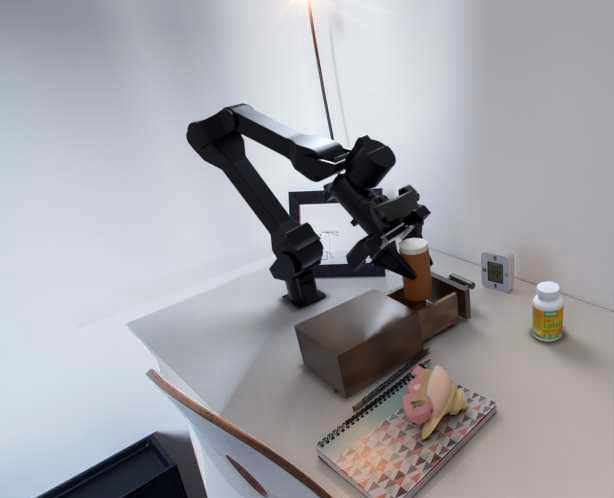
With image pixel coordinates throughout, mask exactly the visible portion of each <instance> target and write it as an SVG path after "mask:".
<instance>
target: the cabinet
mask: <svg viewBox="0 0 614 498" xmlns="http://www.w3.org/2000/svg"><path fill="white" fill-rule="evenodd" d="M384 294H385V293H382V292H380V291H379V290H377V289H376V288H373V289H370V290H368V291H366V292H364V293H361V294H360V295H356V296H354V297H353V298H351V299H348V300H347V301H344V302H342V303H340V304H338V305H336V306H333V307H331V308H329V309H327V310H324V311H322V312H320V313H318V314H316V315H314V316H311V317H309V318H307V319H305V320H302V321H301V322H298V323H296V324H295V325H293V327H294V333H295V335H296V336H295V337H296V339H297V344H298V347H299V351H300V356H301V358H302V359H301V360H302V362H303V366H304V367H305V368H307V369H308V370H309V371H310V372H311V373H313V374H314V375H315V376H317V377H318V378H319V379H321V380H322V381H323V382H325V383H326V385H328V386H329V387H331V388H332V389H334V391H336V392H337V393H339V394H340V395H341V396H342V397H344V398H345V399H348V398H350V397H351V396H353V395H355V394H356V393H358V392H360V391H362V390H363V389H365V388H367V387H368V386H370V385H371V384H373V383H375V382H377V381H378V380H380V379H382V378H384V377H385V376H386V375H388V374H390V373H392V372H393V371H395V370H397V369H399V368H400V367H402V366H404V365H405V364H407V363H409V362H411V361H412V360H413V359H415V358H417V357H419V356H421V355H422V354H424V353H425V351H424V350H425V349H424V341H422V333H421V325H420V317H419V313H418V312H416V311H414V310H413V309H411V308H409V307H407V306H405V305H403V304H401V303H399V302H398V301H396V300H394V299H392V298H390V297H388V296H386V295H384Z"/></svg>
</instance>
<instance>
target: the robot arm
mask: <svg viewBox="0 0 614 498" xmlns="http://www.w3.org/2000/svg"><path fill="white" fill-rule="evenodd" d="M185 133H186V134H185V139H186V141H187V143H188V145H189V146H190V147H191V148H192V150H193V151H195V153H196V154H197V155H198V156H199V157H200V158H201V159H202V160H203V161H204V162H206V163H208V164H210V165H211V166H214V167H215V168H217V169H219V170H221V171H222V172H223V174H224V175H225V177H226V178H227V179H228V180H229V181H230V183H231V184H232V186H233V187H234V188H235V189H236V191H237V192H238V194H239V195H240V196H241V198H242V199H243V200H244V202H246V204H247V205H248V207H249V208H250V210H252V212H253V213H254V215H255V216H256V217H257V219H258V220H259V221H260V222H261V224H262V225H263V227H264V228H265V229H266V231H267V232H268V233H269V235H270V244H271V251H272V253H273V254H274V257H275V258H276V259H275V260H274V261H273V263H272V264H271V265H270V267H269V270H268V271H269V272H270V274H271V276H272V277H273V279H275V280H278V281H284V284H285V288H286V292H287V293H285V294H284V295H281V296H282V297H281V298H282V300H284V301H285V302H287V303H288V304H289V305H291V306H293V307H294V308H295V309H300V308H303V307H306V306H308V305H311V304H312V303H315V302H317V301H319V300H321V299H324V298H326V296H327V295H326V293H325V292H323V291H321V290H320V289H318V286H317V281H316V278H315V272H314V268H316V267H318V266H320V265H322V259H323V256H324V249H325V247H324V245H323V243H322V240H321V239H322V238H321V236H319V235H318V234H317V233H316V231H315V230H314V227H313V226H312V225H311V224H310V223H309V222H308V221H306V222H304V223H300V222H298V221H297V220H296V221H295V220H294V219H293V218H292V217H291V215H290V214H289V212H288V211H287V210H286V209H285V207H284V206H283V204H282V203H281V202H280V201H279V199H278V198H277V196H276V195H275V193H274V192H273V191H272V189H271V188H270V187H269V185H268V184H267V183H266V181H265V180H264V179H263V178H262V176H261V175H260V173H259V172H258V170H257V169H256V168H255V167H254V165H253V164H252V162H251V161H250V160H249V158H248V156H247V153H246V144H245V138H244V137H246V138H248V139H250V140H252V141H253V142H256V143H257V144H259V145H261V146H263V147H265V148H267V149H269V150H271V151H273V152H275V153H276V154H278V155H280V156H283V157H284V158H286V159H287V160H289V162H290V164H291V165H292V167H293V169H294V170H295V171H297V172H298V173H299V174H300V175H302V176H303V177H305V178H306V179H307V180H309V181H311V182H314V183H319V182H322V181H324V180H326V179H327V180H328V179H329V178H331V177H333V176H335V177H334V178H333V180H332V181H330V182H328V183H326V184H325V183H324V184H323V185H322V188H323V195H322V196H323V201H324V202H328V201H331V200H333V199H335V200H336V201H337V203H338V204H339V205H340V206H341V207H342V208H343V209H344V210H345V212H346V213H347V214H348V215H349V216H350V217H351V221H350V224H351V226H352V227H354V228H355V227H357V226H359V227H360V228H361V229H362V230H363V231H364V232H365V234H367V235H366V236H364V237H362V238H361V239H359V240H358V241H357V242H356V243H355V244H354V246H352V248H351V249H350V250H349V251H348V253H346V255H345V259H346V263H347V265H348V267H350V268H351V269H352V270H353V271H354V272H356V271H357V270H358V269H360V268H362V267H363V266H365V265H366V263H367V259H368V258H369V259H370V262H369V263H368V264H367V266H368V267H372V266H375V267H378V268H381V269H384V270H387V271H390V272H392V273H394V274H397V275H399V276H401V277H402V276H404V277H406V278H408V279H411V280H415V279H416V278H417V275H416V274H415V272H414V271H413V269H412V268H411V267H410V266H409V265H408V263H407V262H406V261H405V260H404V259H403V257H402V256H401V255H400V254H399V250H398V246H397V241H396V238H397V237H399V238H400V240H401V241H403V240H406V239H409V238H422V239H424V237H423V226H424V225H425V220H426V219H427V218H428V217H429V216H430V215H431V214H432V211H430V210H429V208H428V207H427V206H426V205H425V204H421V203H419V201H420V199H421V195H420V193H419V192H418V191H417V189H415V188H414V187H413V185H411V184H406V185H405V186H403V187H400V188H398V190H397V194H398V195H397V196H395V197H393V198H389V197H388V196H387V195H386V194H380V195H377V193H375V191H374V190H373V189H376V188H377V187H379V185H380V183H381V182H382V181H383V180H384V179H385V177H386V176H387V175H388V174H389V173H390V171H391V170H392V169H393V167H395V165H396V164H397V158H396V155H395V153H394V150H392V148H391V147H390V146H389V145H386V144H385V143H383V142H381V141H379V140H377V139H372V138H371V137H370V136H369V135H368V134H363V135H361V136H358V138H357V139H356V141H355V142H354V145H353V147H352V148H349V147H346V146H343V145H342V144H341V143H340V142H339V141H337V140H334V139H332V138H327V137H324V136H321V135H309V134H305V133H302V132H299V131H297V130H295V129H294V128H291V127H289V126H287V125H286V124H283V123H281V122H279V121H278V120H275V119H273V118H271V117H269V116H267V115H266V114H263V113H262V112H260V111H258V110H256V109H254V108H253V106H251V105H250V104H248V103H243V102H242V103H237V104H233V105H228V106H224V107H223V108H222V109H221V110H218V111H217V113H214V114H213V115H211V116H209V117H207V118H204V119H201V120H196V121H191V122H190V123H188V126H187V131H186V132H185ZM243 136H244V137H243ZM342 172H343V173H342ZM399 244H400V242H399V243H398V245H399ZM429 258H430V268H432V266H433V265H434V261H433V259H432V256H431V254H430V253H429Z"/></svg>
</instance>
